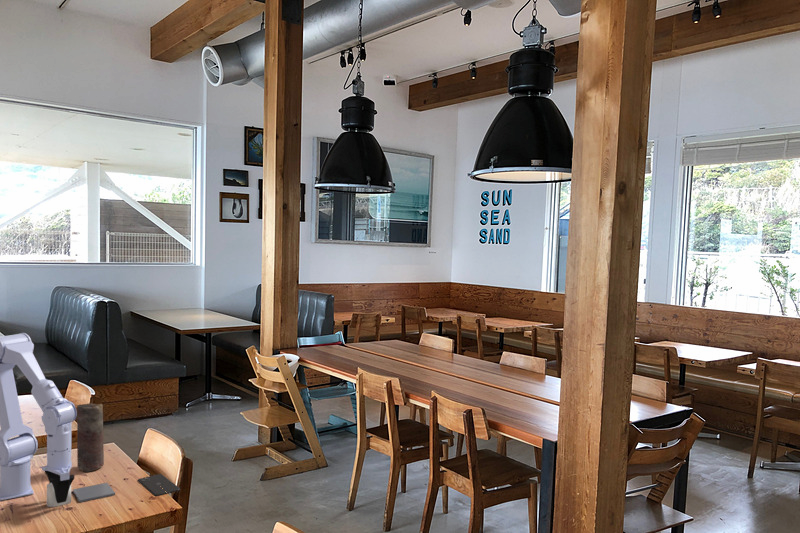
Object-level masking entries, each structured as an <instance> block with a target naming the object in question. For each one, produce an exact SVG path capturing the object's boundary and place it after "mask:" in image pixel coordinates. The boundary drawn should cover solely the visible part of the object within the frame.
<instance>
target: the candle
mask: <svg viewBox="0 0 800 533" xmlns="http://www.w3.org/2000/svg"><path fill="white" fill-rule="evenodd" d="M103 407H104V406H103V404H102V403H98V404H96V403H84V404H83V403H82V404H77V405H76V411H77V416H76V421H77V422H76V423H77V424H76V426H77V428H76V429H77V432H76V433H77V434H76V435H77V437H76V438H77V439H76V440H77V446H76V447H77V451H76V452H77V456H76V457H77V459H76V460H77V469H79V470H80V471H82V472H85V473H88V472H89V473H90V472H92V471H96V470H99V469H100V468H101V467H103V466H104V464H105V456H104V455H105V454H104V449H105V448H104V412H103V409H104V408H103Z"/></svg>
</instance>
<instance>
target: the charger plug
mask: <svg viewBox="0 0 800 533" xmlns="http://www.w3.org/2000/svg"><path fill="white" fill-rule="evenodd" d="M70 503H72V484H71V485H70V488H69V492H68V496H67V500H66V502H62V503H57V501H56V497H55V491H54V487H53V485H52V483H47V484H46V507H47V508H54V507H55V508H56V507H60V506H64V505H68V504H70Z"/></svg>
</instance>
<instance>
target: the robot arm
mask: <svg viewBox="0 0 800 533" xmlns="http://www.w3.org/2000/svg"><path fill="white" fill-rule="evenodd" d="M34 348H35V344H34V343H33V342H32V339H31V337H30V335H29V334H27V333H26V332H21V333H15V334H11V335H2V336H0V501H5V500H10V499H16V498H21V497H25V496H31V495H34V494H35V492H34V489H33V487H32V485H31V460H32V459H33V458H34V455H35V454H36V453H37V451H38V446H39V444H38V440H37V438H36V436H35V434H34V430H33V428H32V427H30V426H28V425H26V424H24V421H23V417H22V416H23V415H22V412H21V406H20V402H19V396H18V392H17V391H18V390H17V386H16V381H15V380H16V379H15V375H14V370H13V369H14V368H15V367H16V366H17V368H19V370H20V371H21V372H22V374H23V375H24V376H25V377H26V379H27V381H28V382H29V383H30V384H31V387H32V388H31V391H30V394H31V395H32V397H33V398H34V400H35V401H36V404H37V405H38V407H39V408H40V410H41V412H42V413H43V414H42V415H41V422H42V423H43V426H44V432H45V434H46V465H44V466H41V471H43V472H44V473H45V475H46V476H47V479H48V482H49V483H52V485H53V487H54V491H55V497H56V501H57V503H62V502H66V500H67V496H68V492H69V488H70V485H71V486H72V483H73V481H74V480H75V475H74V474H70V472H71V469H72V467H73V462H72V423H73V422H74V421H75V420H77V407H76V406H75V404H74V402H73V401H70V400H68V399H67V398H64V397H63V395H62V394H61V392H60V390H59V389H58V387H57V386H56V384H55V383H54V381H53V380H51V379H47V378H46V377H45V374H44V373H43V370H42V369H41V367H40V365H39V363H38V360H37V358H36V357H35V355H34ZM49 483H48V484H49Z"/></svg>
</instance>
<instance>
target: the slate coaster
mask: <svg viewBox="0 0 800 533" xmlns="http://www.w3.org/2000/svg"><path fill="white" fill-rule="evenodd" d="M72 493H73V494H74V496H75V498H76V499H77V501H78V502H79V503H84V502H89V501H94V500H98V499H102V498H103V499H105V498H108V497H112V496H115V495H116V492H115V490H113V487H111V485H110V484H109V483H108V482H102V483H98V484H94V485H93V484H92V485H87V486H83V487H79V488H78V487H77V488H72Z"/></svg>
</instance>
